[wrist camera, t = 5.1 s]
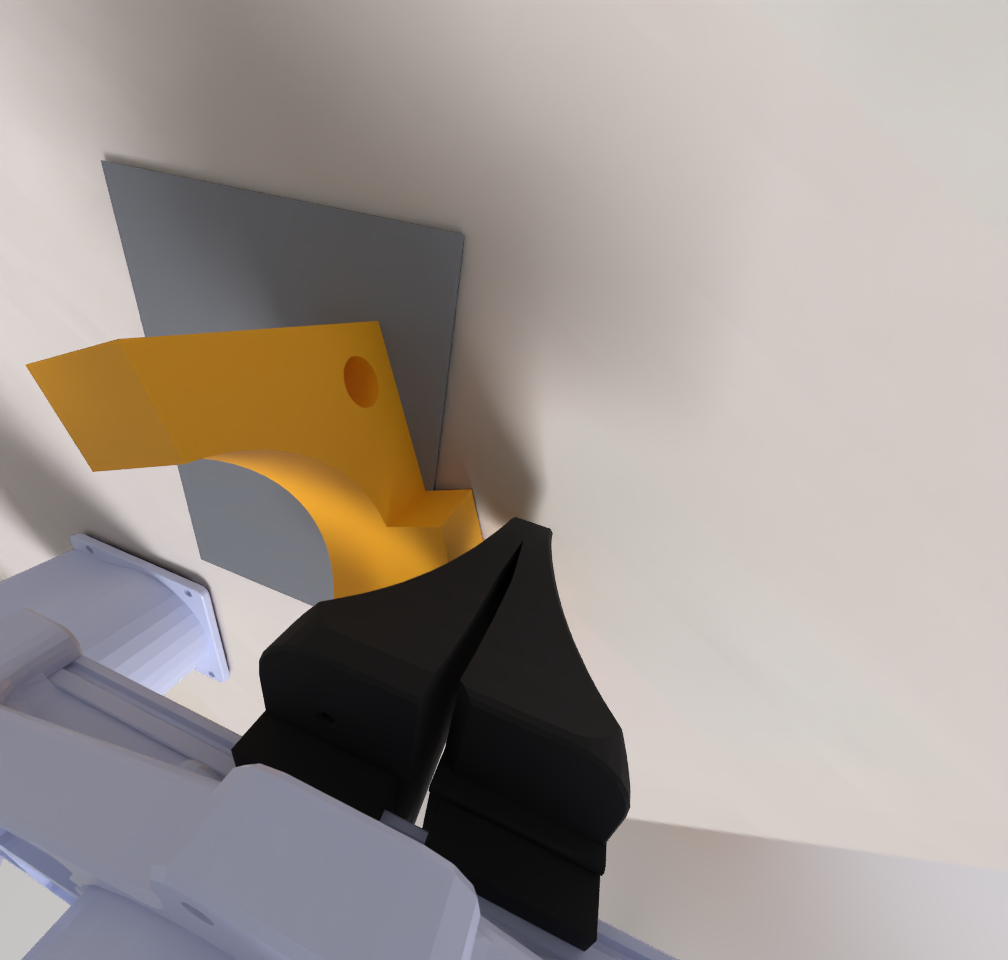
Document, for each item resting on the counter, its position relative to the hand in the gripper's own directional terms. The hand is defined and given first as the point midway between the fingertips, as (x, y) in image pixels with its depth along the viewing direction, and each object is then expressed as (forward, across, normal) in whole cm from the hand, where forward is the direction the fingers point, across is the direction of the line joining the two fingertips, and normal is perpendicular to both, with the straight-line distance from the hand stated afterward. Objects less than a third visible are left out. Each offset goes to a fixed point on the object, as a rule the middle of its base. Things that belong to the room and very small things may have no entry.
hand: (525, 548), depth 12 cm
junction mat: (+1, +10, 0) cm, 10 cm away
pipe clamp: (+1, +4, 0) cm, 4 cm away
